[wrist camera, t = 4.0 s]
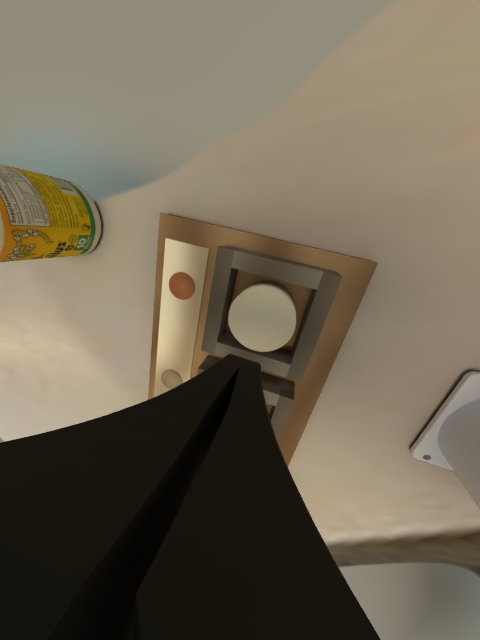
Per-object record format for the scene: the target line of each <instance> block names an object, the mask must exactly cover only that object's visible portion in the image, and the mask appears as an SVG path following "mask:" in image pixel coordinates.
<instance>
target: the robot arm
mask: <svg viewBox="0 0 480 640" xmlns="http://www.w3.org/2000/svg"><path fill="white" fill-rule="evenodd" d="M410 452H411V454H412V456H413V457H414V458H416V459H419V460H421V461H424V462H427V463H430V464H433V465H436V466H439V467H442V468H445V469H448V470H451V471H453V472H455V473H456V475H457V476H458V478H459V479H460V481H461V482H462V484H463V485H464V486H465V488H466V489H467V491H468V492H469V494H470V495H471V497H472V498H473V500H474V501H475V503H476V504H477V506H478V507H479V509H480V372H476V371H472V372H468V373H466V374H465V375H464V376H463V378H462V379H461V381H460V382H459V383H458V385H457V386H456V387H455V389H454V390H453V391H452V393H451V394H450V396H449V397H448V398H447V400H446V401H445V402H444V404H443V405H442V406H441V408H440V409H439V411H438V412H437V413H436V415H435V416H434V417H433V419H432V420H431V422H430V423H429V424H428V426H427V427H426V428H425V430H424V431H423V432H422V434H421V435H420V437H419V438H418V439H417V441H416V442H415V443H414V445H413V446H412V447H411V449H410ZM0 640H380V638H379V636H378V635H377V633H376V631H375V630H374V628H373V626H372V624H371V623H370V621H369V619H368V618H367V616H366V614H365V613H364V611H363V609H362V608H361V606H360V604H359V603H358V601H357V599H356V597H355V596H354V594H353V592H352V591H351V589H350V587H349V586H348V584H347V582H346V580H345V578H344V577H343V575H342V573H341V572H340V570H339V568H338V566H337V564H336V563H335V561H334V559H333V557H332V555H331V554H330V552H329V550H328V548H327V546H326V544H325V542H324V540H323V539H322V537H321V535H320V533H319V531H318V529H317V527H316V526H315V524H314V522H313V520H312V518H311V516H310V514H309V512H308V510H307V507H306V505H305V503H304V501H303V499H302V497H301V495H300V493H299V491H298V489H297V487H296V485H295V483H294V481H293V478H292V476H291V474H290V472H289V469H288V467H287V465H286V462H285V460H284V457H283V455H282V452H281V450H280V447H279V444H278V442H277V439H276V436H275V433H274V430H273V427H272V424H271V420H270V417H269V414H268V410H267V406H266V401H265V397H264V392H263V386H262V379H261V365H260V363H258V362H254V361H251V360H248V359H245V358H242V357H239V356H236V355H233V354H228V355H226V356H225V357H224V358H222V359H221V360H219V361H218V362H217V363H215V364H214V365H212V366H211V367H209V368H208V369H206V370H204V371H203V372H201V373H200V374H198V375H196V376H195V377H193V378H191V379H190V380H188V381H186V382H184V383H182V384H180V385H179V386H177V387H175V388H173V389H171V390H169V391H167V392H165V393H163V394H160V395H158V396H156V397H154V398H151V399H149V400H147V401H144V402H142V403H139V404H137V405H134V406H131V407H128V408H126V409H123V410H120V411H117V412H114V413H111V414H109V415H106V416H103V417H99V418H96V419H93V420H89V421H86V422H83V423H79V424H76V425H72V426H68V427H65V428H61V429H57V430H54V431H50V432H46V433H42V434H38V435H33V436H29V437H24V438H20V439H15V440H11V441H6V442H2V443H0Z"/></svg>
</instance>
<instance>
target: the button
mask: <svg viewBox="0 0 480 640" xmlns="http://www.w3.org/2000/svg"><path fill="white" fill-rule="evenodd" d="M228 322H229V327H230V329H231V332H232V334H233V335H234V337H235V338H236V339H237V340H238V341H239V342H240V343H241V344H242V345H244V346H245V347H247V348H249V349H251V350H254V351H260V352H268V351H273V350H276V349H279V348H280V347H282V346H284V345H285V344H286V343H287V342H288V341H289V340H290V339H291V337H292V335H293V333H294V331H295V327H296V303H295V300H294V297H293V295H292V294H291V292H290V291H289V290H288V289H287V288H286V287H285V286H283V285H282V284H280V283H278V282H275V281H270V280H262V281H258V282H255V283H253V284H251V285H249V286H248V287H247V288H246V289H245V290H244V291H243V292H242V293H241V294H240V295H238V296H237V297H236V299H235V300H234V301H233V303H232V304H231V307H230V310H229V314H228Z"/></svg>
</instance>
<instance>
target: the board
mask: <svg viewBox="0 0 480 640" xmlns="http://www.w3.org/2000/svg"><path fill="white" fill-rule="evenodd" d="M377 264H378V263H376V262H373V261H369V260H364V259H360V258H356V257H351V256H347V255H343V254H338V253H334V252H330V251H325V250H321V249H317V248H312V247H308V246H304V245H299V244H295V243H291V242H286V241H282V240H278V239H273V238H269V237H265V236H260V235H256V234H252V233H247V232H243V231H239V230H234V229H230V228H226V227H221V226H217V225H213V224H208V223H204V222H200V221H195V220H191V219H187V218H182V217H178V216H174V215H169V214H164V213H160V219H159V236H158V252H157V268H156V284H155V300H154V316H153V333H152V349H151V365H150V381H149V397H148V400H149V399H151V398H154V397H156V396H158V395H160V394H163V393H165V392H167V391H169V390H171V389H173V388H175V387H177V386H179V385H180V384H182V383H184V382H186V381H188V380H190V379H191V378H193V377H195V376H196V375H198V374H200V373H201V372H203V371H204V370H206V369H208V368H209V367H211V366H212V365H214V364H215V363H217V362H218V361H219V360H221V359H222V358H224V357H225V356H226V355H228V354H233V355H236V356H239V357H242V358H245V359H248V360H251V361H254V362H258V363H260V365H261V379H262V386H263V392H264V397H265V401H266V406H267V410H268V414H269V417H270V420H271V424H272V427H273V430H274V433H275V436H276V439H277V442H278V444H279V447H280V450H281V452H282V455H283V457H284V460H285V462H286V465H287V467H288V465H289V463H290V461H291V458H292V456H293V454H294V451H295V449H296V447H297V445H298V442H299V440H300V438H301V436H302V433H303V431H304V429H305V427H306V424H307V422H308V420H309V418H310V415H311V413H312V411H313V408H314V406H315V404H316V402H317V399H318V397H319V395H320V393H321V390H322V388H323V386H324V384H325V381H326V379H327V377H328V375H329V372H330V370H331V368H332V365H333V363H334V361H335V359H336V356H337V354H338V352H339V350H340V347H341V345H342V343H343V341H344V338H345V336H346V334H347V332H348V329H349V327H350V325H351V323H352V320H353V318H354V316H355V313H356V311H357V309H358V307H359V304H360V302H361V300H362V298H363V295H364V293H365V291H366V289H367V286H368V284H369V282H370V280H371V277H372V275H373V273H374V270H375V268H376V266H377ZM262 280H270V281H275V282H278V283H280V284H282V285H283V286H285V287H286V288H287V289H288V290H289V291H290V292H291V294H292V295H293V297H294V300H295V303H296V327H295V331H294V333H293V335H292V337H291V339H290V340H289V341H288V342H287V343H286V344H285V345H284V346H282V347H280V348H279V349H276V350H273V351H268V352H260V351H254V350H251V349H249V348H247V347H245V346H244V345H242V344H241V343H240V342H239V341H238V340H237V339H236V338H235V337H234V335H233V334H232V332H231V329H230V327H229V322H228V314H229V310H230V307H231V304H232V303H233V301H234V300H235V299H236V297H237V296H238V295H240V294H241V293H242V292H243V291H244V290H245V289H246V288H247V287H248V286H249V285H251V284H253V283H255V282H258V281H262Z"/></svg>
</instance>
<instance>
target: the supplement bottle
mask: <svg viewBox="0 0 480 640" xmlns="http://www.w3.org/2000/svg"><path fill="white" fill-rule="evenodd" d="M100 235H101V220H100V216H99V213H98V210H97V208H96V205H95V204H94V202H93V200H92V199H91V197H90V196H89V195H88V194H87V193H86V192H85V191H84V190H83V189H82V188H81V187H79V186H78V185H76V184H74V183H72V182H69V181H66V180H62V179H59V178H55V177H51V176H48V175H43V174H39V173H35V172H30V171H27V170H22V169H18V168H14V167H10V166H6V165H2V164H0V262H6V261H19V260H29V259H41V258H54V257H67V256H79V255H84V254H87V253H89V252H91V251H92V250H93V249H94V248H95V246H96V245H97V243H98V241H99V238H100Z"/></svg>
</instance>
